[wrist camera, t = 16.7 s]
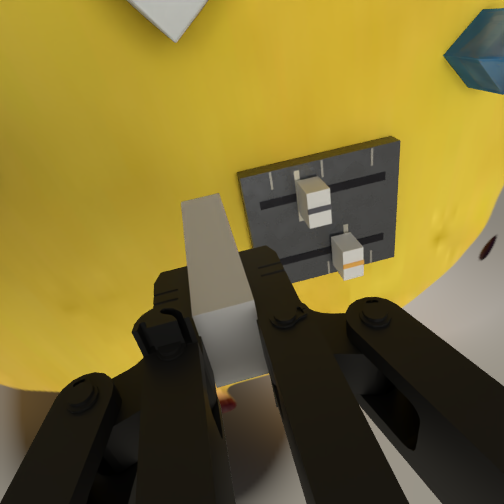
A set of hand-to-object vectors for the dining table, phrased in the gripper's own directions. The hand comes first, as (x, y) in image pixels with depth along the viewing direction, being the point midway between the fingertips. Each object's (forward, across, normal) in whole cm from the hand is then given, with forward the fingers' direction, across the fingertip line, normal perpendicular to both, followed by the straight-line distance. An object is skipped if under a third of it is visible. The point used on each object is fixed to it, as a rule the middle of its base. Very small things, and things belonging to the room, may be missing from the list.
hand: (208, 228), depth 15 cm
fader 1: (+31, +14, -15) cm, 37 cm away
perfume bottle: (+33, +38, -2) cm, 50 cm away
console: (+33, +16, -20) cm, 42 cm away
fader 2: (+31, +18, -25) cm, 44 cm away
